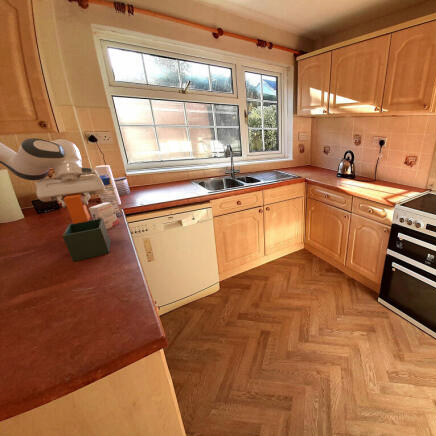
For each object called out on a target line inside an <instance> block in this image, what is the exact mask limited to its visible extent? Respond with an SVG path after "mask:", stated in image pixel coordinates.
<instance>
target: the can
mask: <svg viewBox="0 0 436 436" xmlns="http://www.w3.org/2000/svg"><path fill="white" fill-rule="evenodd" d="M114 182H115V185H116V188H117V191H118V195H119V197H121V196H125V195H126V196H127V195H129V194H131V189H130V186H129V183H128V180H127V176H122V177H121V176H120V177H115V178H114Z"/></svg>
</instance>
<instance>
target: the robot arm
mask: <svg viewBox="0 0 436 436" xmlns="http://www.w3.org/2000/svg"><path fill="white" fill-rule="evenodd" d="M0 164H1V165H2V166H4V167H6V168H7V169H8V170H9V171H10V172H11V173H12V174H13V175H15V176H16V177H19V178H21V179H23V180H27V181H36V182H35V188H36V198H37V199H38V200H39V201H41V202H43V203H46V202H53V201H58V202H59V203H60V204H61V205H62V208H63V209H67V206H66V204H65V201H64V198H65V197H66V195H72V194H79V193H81V194H82V197H83V199H82V203H83V205H86V206H87V205H89V200H90V199H91V196H94V195H95V196H96V195H99V194H102V193H105V191H106V189H105V186H104V184H103V182H102V180H101V178H100V177H99V175H98V173H97V171H96V168H94V167H93V168H92V167H85V166H83V159H82V155H81V152H80V150H79V148H78V146H76V144H75V143H74V142H72V141H70V140H68V139H60V138H58V139H55V140H46V139H42V138H36V137H31V138H30V137H29V138H26V139H24V140H22V141H21V143H20V145H19V148H18V149H17V152H16V151H15V150H14V149H12V148H10V147H9V146H6V144H4V143H2V142H1V141H0ZM51 168H52V169H53V170H54V176H55V177H50V178H47V177H48V174H49V171H50V169H51Z"/></svg>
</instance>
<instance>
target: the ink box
mask: <svg viewBox="0 0 436 436" xmlns="http://www.w3.org/2000/svg"><path fill="white" fill-rule="evenodd" d="M88 211H89V213H90V216H91V218H92V220H95V219H101V218H103V220H104V223H105V226H106V229H107V230H109V229H111V228H113V227H115V226H118V225H119V224H120V223H119V222H120V221H119V220H118V217H116V214H115V211H114V209H113V206H112V203H109V202H107V203H102V202H101V203H99V204H97V205H93V206H90V207H88Z"/></svg>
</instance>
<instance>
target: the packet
mask: <svg viewBox="0 0 436 436" xmlns="http://www.w3.org/2000/svg"><path fill="white" fill-rule="evenodd" d="M82 199H84V196H82V194H81V193H79V194H72V195H66V197H65V198H64V201H63V202H65V204H66V206H67V208H66V209H67V211H68V213H69V216H70V219H71V221H72V224H76V223H81V222H86V221H90V218H91V214H90V212H89V209H88V208H87V205H83V203H82Z"/></svg>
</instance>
